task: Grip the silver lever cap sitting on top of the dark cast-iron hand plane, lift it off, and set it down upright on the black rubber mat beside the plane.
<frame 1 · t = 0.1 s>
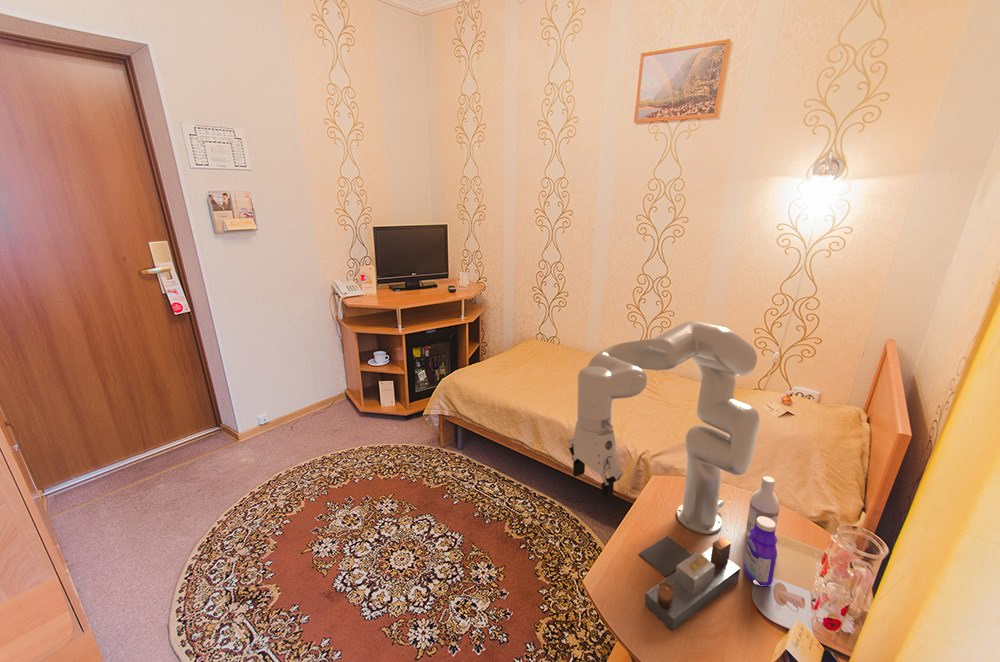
hand: (592, 484, 97), 31 cm above the table, fingers open, 9 cm apart
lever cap: (694, 579, 102), point 4 cm above the table, touching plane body
bath foam: (759, 538, 119), on the table
bottle: (756, 577, 107), on the table
rubber mat: (666, 556, 114), on the table
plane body: (692, 592, 103), on the table
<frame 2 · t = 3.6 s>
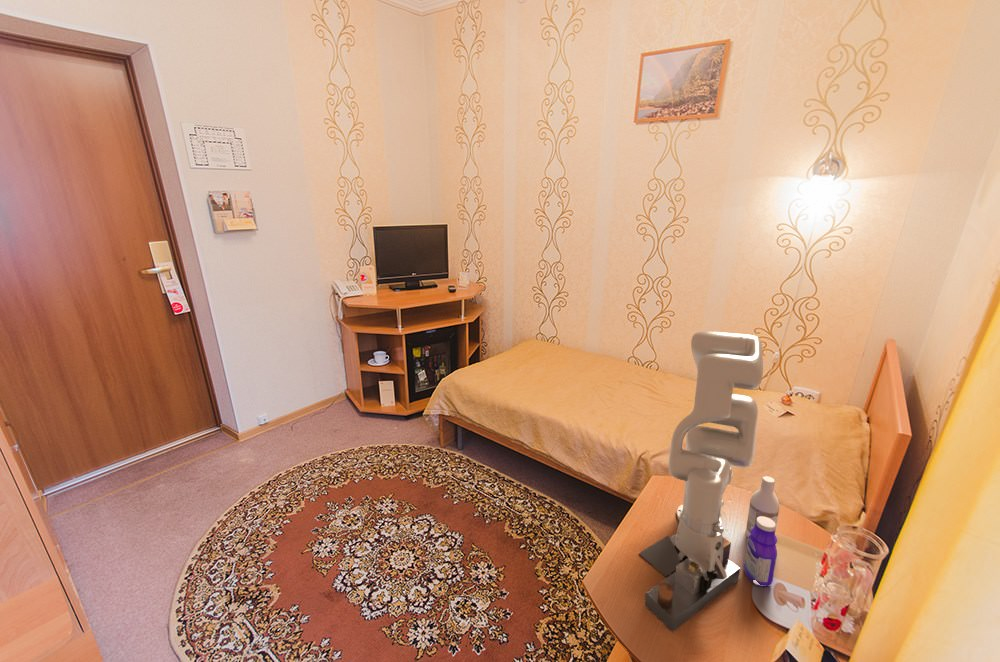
hand: (694, 579, 102), 4 cm above the table, fingers closed on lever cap, 5 cm apart
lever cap: (694, 579, 102), point 4 cm above the table, touching gripper, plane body
everything else where it was.
when the fingers open (3 cm above the table, at t = 10.4 s): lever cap drops 2 cm, resting on rubber mat.
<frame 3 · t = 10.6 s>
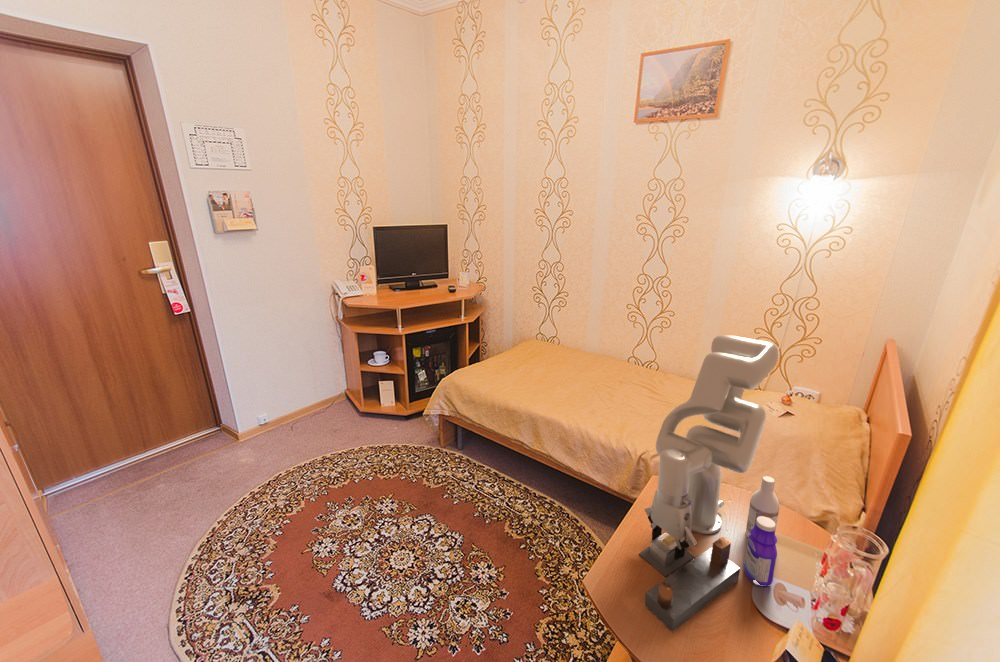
hand: (667, 547, 114), 3 cm above the table, fingers open, 6 cm apart
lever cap: (666, 554, 114), resting on rubber mat
everything else where it was.
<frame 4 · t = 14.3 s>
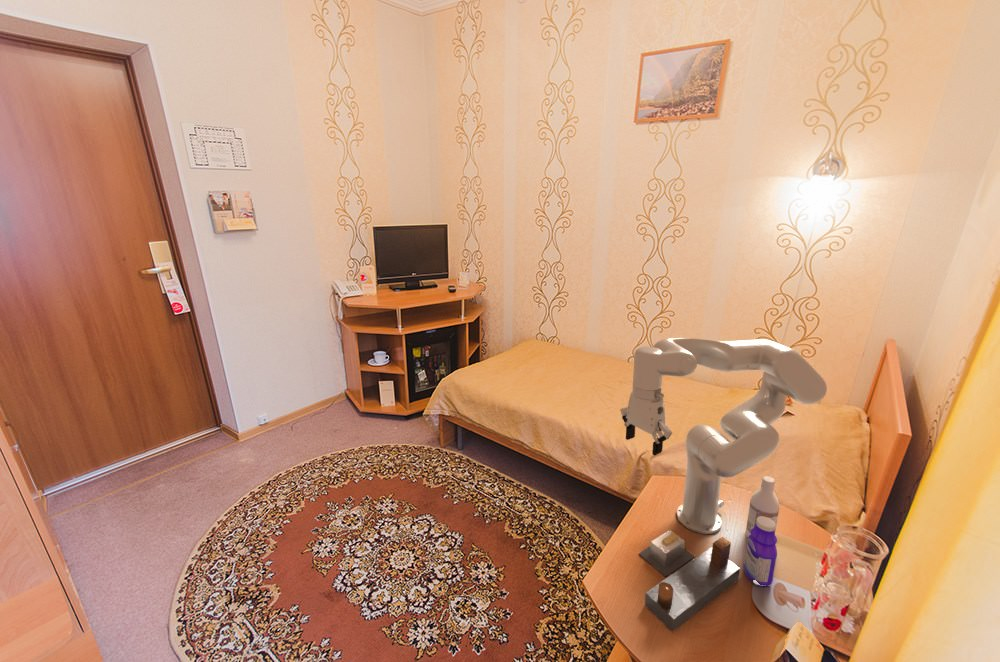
hand: (643, 445, 118), 28 cm above the table, fingers open, 9 cm apart
nothing on the table moved.
at the end: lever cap inside the target area on the rubber mat (0.1 cm from its centre), point 0.5 cm above the rubber mat's base; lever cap tilted 0°; the gripper is holding nothing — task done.
